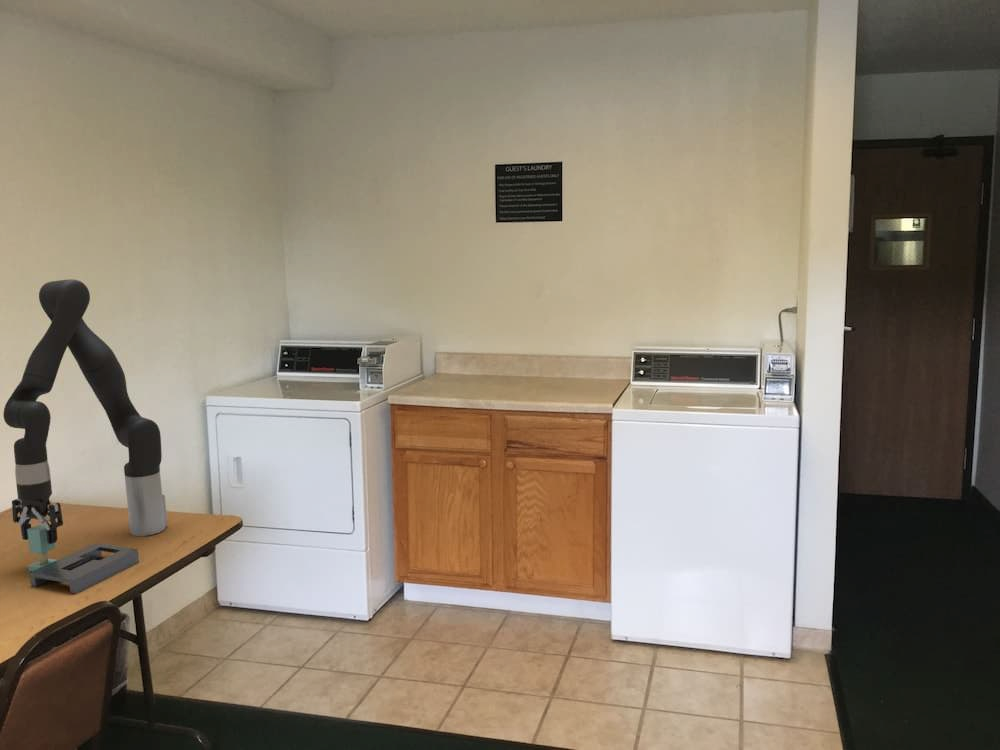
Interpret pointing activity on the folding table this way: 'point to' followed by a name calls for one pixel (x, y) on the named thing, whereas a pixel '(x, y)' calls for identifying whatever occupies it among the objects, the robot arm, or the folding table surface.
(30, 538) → the teal stud
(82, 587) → the keyhole plate
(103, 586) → the folding table surface
